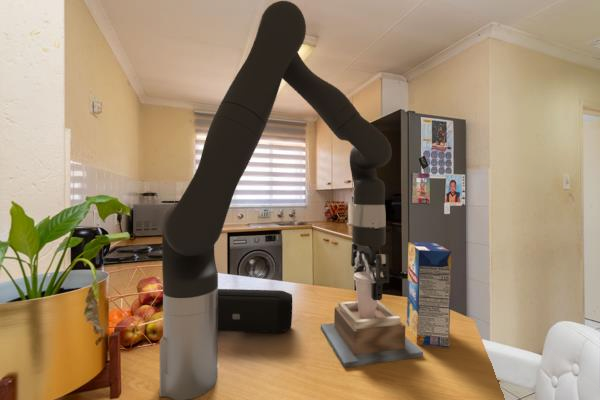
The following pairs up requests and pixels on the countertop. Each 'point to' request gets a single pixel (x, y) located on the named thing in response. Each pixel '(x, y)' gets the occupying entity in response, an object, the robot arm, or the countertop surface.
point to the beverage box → (429, 293)
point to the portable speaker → (254, 310)
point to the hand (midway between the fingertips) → (367, 292)
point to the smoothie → (365, 295)
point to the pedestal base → (366, 357)
